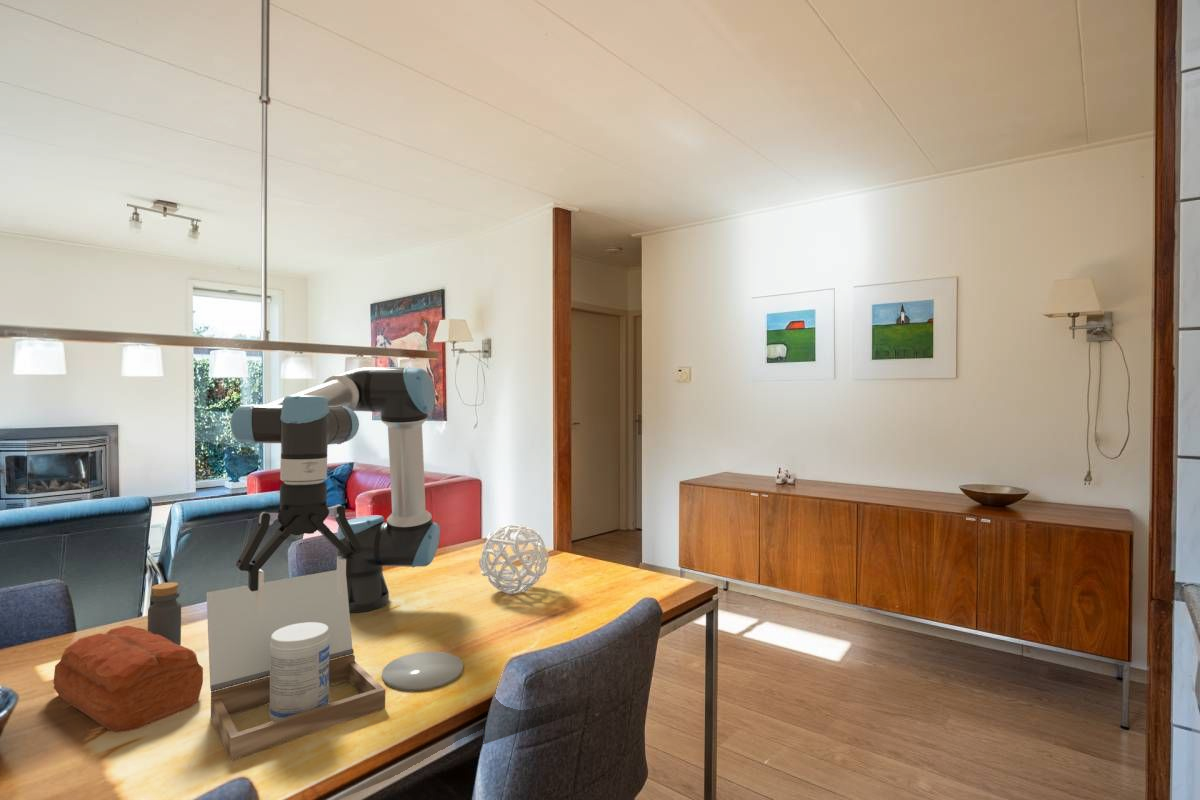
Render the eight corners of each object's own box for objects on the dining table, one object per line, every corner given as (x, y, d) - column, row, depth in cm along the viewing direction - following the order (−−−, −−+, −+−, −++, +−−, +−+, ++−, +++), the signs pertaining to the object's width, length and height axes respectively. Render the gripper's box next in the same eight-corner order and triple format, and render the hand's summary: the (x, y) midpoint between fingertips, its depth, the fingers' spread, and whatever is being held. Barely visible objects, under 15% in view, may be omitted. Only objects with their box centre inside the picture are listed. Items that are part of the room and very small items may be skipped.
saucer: (369, 669, 125) (369, 665, 125) (440, 649, 136) (440, 645, 136) (402, 699, 113) (402, 695, 113) (477, 674, 124) (477, 670, 124)
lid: (211, 691, 105) (209, 690, 107) (353, 653, 122) (349, 653, 123) (207, 592, 109) (205, 592, 111) (346, 568, 125) (342, 569, 127)
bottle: (144, 662, 127) (145, 591, 126) (150, 651, 132) (151, 583, 132) (178, 657, 129) (179, 587, 129) (182, 647, 134) (183, 579, 134)
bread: (110, 741, 99) (111, 676, 99) (46, 697, 112) (46, 640, 112) (211, 700, 112) (212, 643, 112) (143, 665, 126) (143, 615, 126)
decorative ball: (560, 595, 174) (561, 529, 174) (496, 608, 163) (497, 537, 162) (528, 577, 190) (529, 516, 190) (468, 588, 179) (469, 523, 179)
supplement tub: (333, 718, 106) (334, 634, 106) (271, 734, 101) (273, 646, 101) (323, 694, 114) (324, 617, 114) (266, 708, 109) (267, 627, 109)
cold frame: (210, 717, 106) (210, 692, 106) (352, 676, 122) (352, 654, 122) (230, 760, 94) (230, 731, 94) (385, 708, 110) (385, 683, 110)
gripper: (227, 490, 97) (225, 622, 97) (381, 478, 113) (378, 591, 113) (218, 484, 102) (215, 610, 102) (365, 474, 119) (363, 582, 119)
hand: (301, 600), depth 108 cm, fingers open, 13 cm apart
